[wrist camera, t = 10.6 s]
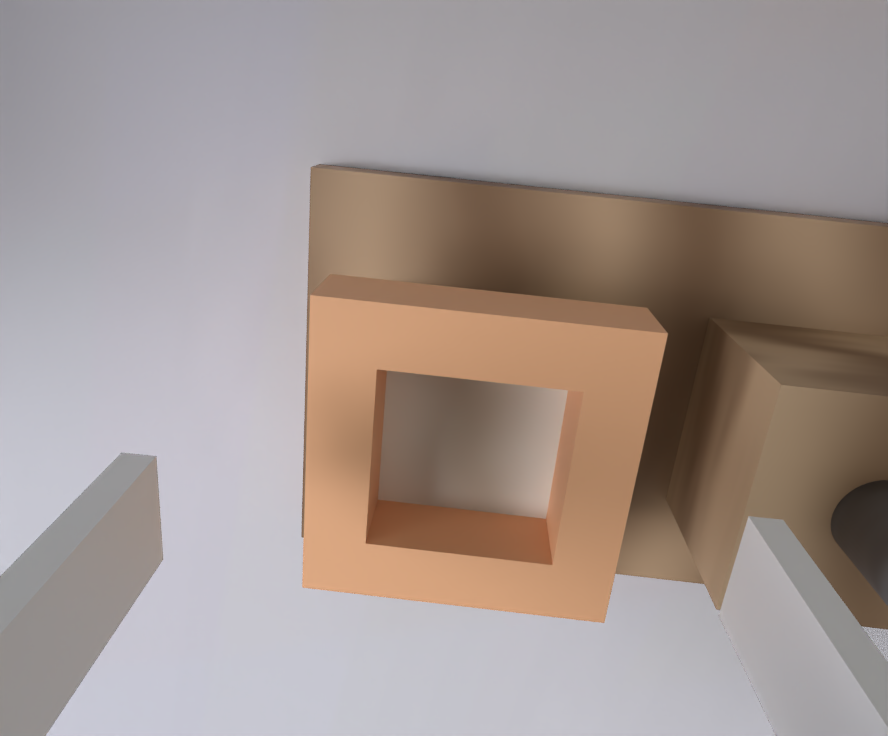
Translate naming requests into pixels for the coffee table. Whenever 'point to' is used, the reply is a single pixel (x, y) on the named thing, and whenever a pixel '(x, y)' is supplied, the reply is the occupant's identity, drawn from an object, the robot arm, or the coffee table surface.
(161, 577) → the coffee table surface
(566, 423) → the square frame
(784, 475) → the stand
